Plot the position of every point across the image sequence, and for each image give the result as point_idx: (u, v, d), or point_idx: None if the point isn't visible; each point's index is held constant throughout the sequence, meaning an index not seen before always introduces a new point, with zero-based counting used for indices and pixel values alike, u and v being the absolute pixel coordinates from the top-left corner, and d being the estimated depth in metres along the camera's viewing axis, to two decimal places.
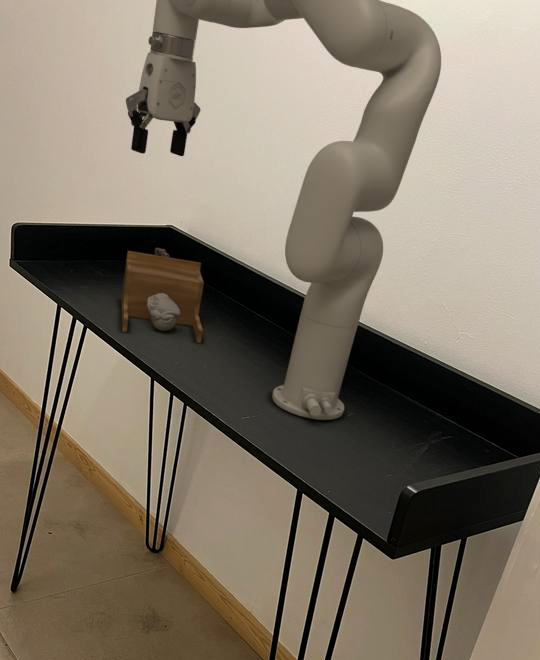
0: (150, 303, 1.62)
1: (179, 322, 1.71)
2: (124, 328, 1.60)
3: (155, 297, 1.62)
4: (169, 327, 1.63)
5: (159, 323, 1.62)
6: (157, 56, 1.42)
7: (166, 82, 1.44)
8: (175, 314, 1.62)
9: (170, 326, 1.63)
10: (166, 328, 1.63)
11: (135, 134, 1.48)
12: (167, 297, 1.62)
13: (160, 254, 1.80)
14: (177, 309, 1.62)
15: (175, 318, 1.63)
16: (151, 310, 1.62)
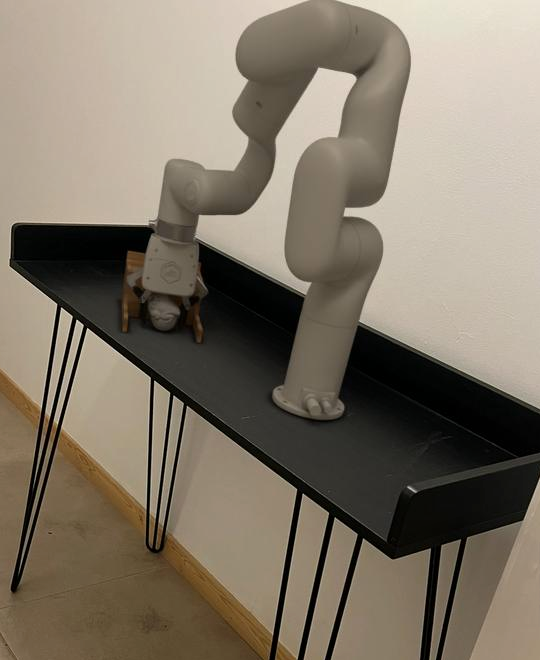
0: (150, 303, 1.62)
1: None
2: (124, 328, 1.60)
3: (155, 297, 1.62)
4: (169, 327, 1.63)
5: (159, 323, 1.62)
6: (151, 237, 1.55)
7: (156, 260, 1.56)
8: (175, 314, 1.62)
9: (170, 326, 1.63)
10: (166, 328, 1.63)
11: (140, 306, 1.63)
12: (167, 297, 1.62)
13: None
14: (177, 309, 1.62)
15: (175, 318, 1.63)
16: (151, 310, 1.62)
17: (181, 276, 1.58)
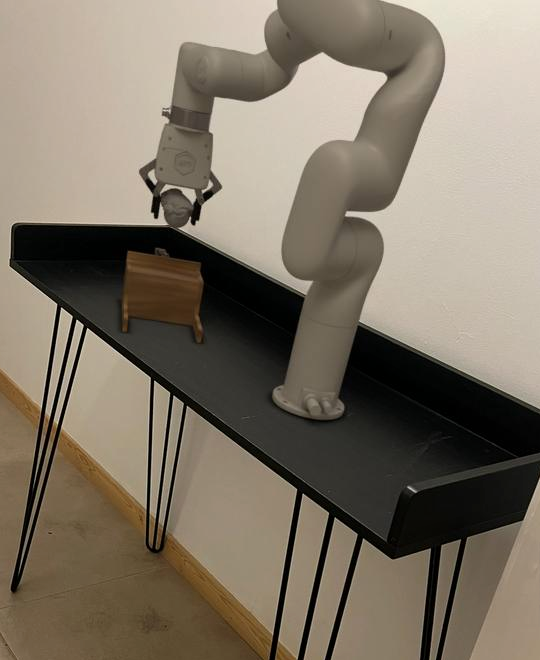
0: (163, 198, 1.59)
1: (179, 322, 1.71)
2: (124, 328, 1.60)
3: (168, 191, 1.58)
4: (182, 223, 1.60)
5: (172, 218, 1.59)
6: (164, 125, 1.52)
7: (170, 149, 1.52)
8: (189, 209, 1.58)
9: (183, 222, 1.60)
10: (179, 224, 1.60)
11: (152, 201, 1.59)
12: (180, 192, 1.59)
13: (160, 254, 1.80)
14: (190, 204, 1.59)
15: (188, 214, 1.60)
16: (164, 204, 1.58)
17: (195, 167, 1.55)
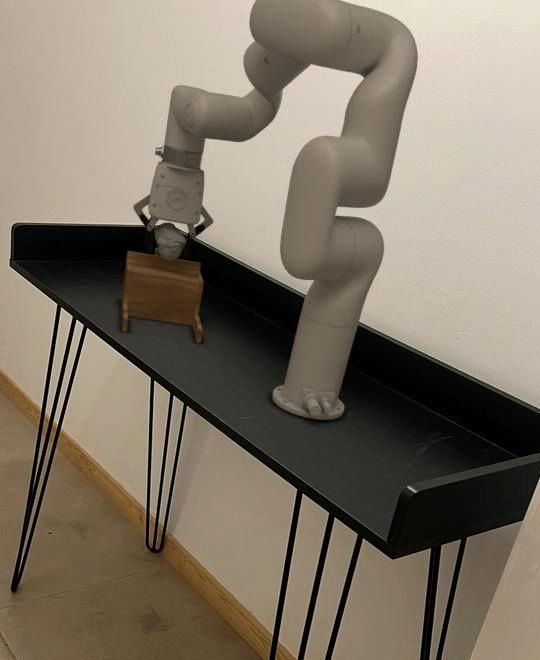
0: (157, 232, 1.65)
1: (179, 322, 1.71)
2: (124, 328, 1.60)
3: (161, 225, 1.65)
4: (175, 256, 1.67)
5: (165, 251, 1.66)
6: (158, 164, 1.58)
7: (163, 187, 1.59)
8: (181, 242, 1.65)
9: (176, 255, 1.66)
10: (172, 257, 1.67)
11: (146, 235, 1.66)
12: (173, 226, 1.65)
13: None
14: (183, 238, 1.65)
15: (181, 247, 1.67)
16: (158, 238, 1.65)
17: (187, 203, 1.61)
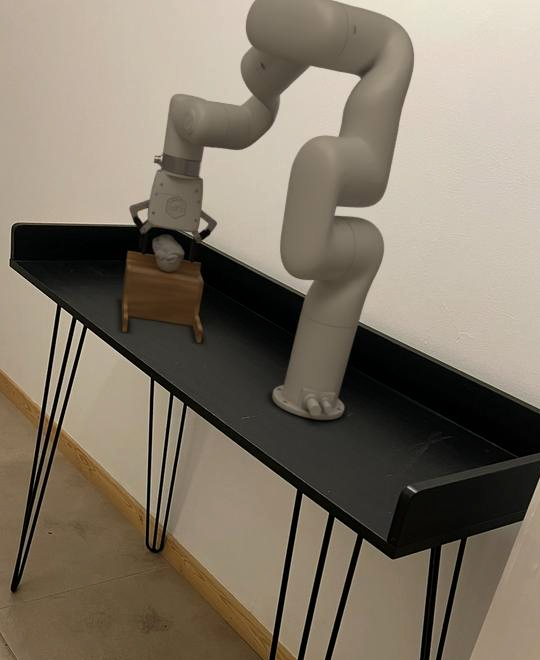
0: (155, 244, 1.66)
1: (179, 322, 1.71)
2: (124, 328, 1.60)
3: (160, 238, 1.66)
4: (173, 268, 1.68)
5: (163, 263, 1.67)
6: (156, 172, 1.59)
7: (162, 195, 1.60)
8: (179, 254, 1.66)
9: (174, 267, 1.68)
10: (170, 268, 1.68)
11: None
12: (171, 238, 1.66)
13: None
14: (181, 250, 1.67)
15: (179, 259, 1.68)
16: (156, 250, 1.66)
17: (186, 211, 1.62)
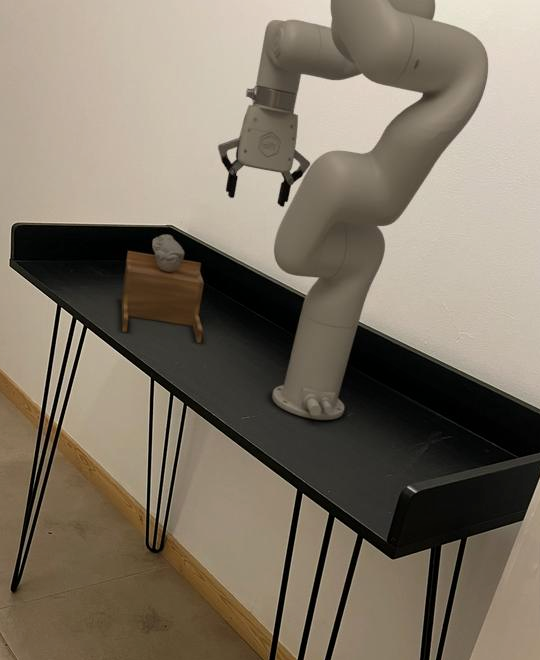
0: (155, 244, 1.66)
1: (179, 322, 1.71)
2: (124, 328, 1.60)
3: (160, 238, 1.66)
4: (173, 268, 1.68)
5: (163, 263, 1.67)
6: (249, 106, 1.48)
7: (255, 131, 1.49)
8: (179, 254, 1.66)
9: (174, 267, 1.68)
10: (170, 268, 1.68)
11: (228, 180, 1.55)
12: (171, 238, 1.66)
13: None
14: (181, 250, 1.67)
15: (179, 259, 1.68)
16: (156, 250, 1.66)
17: (280, 149, 1.51)
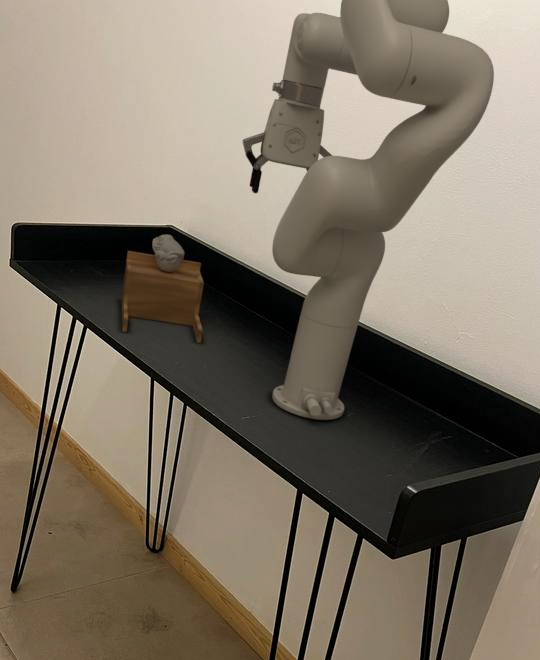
0: (155, 244, 1.66)
1: (179, 322, 1.71)
2: (124, 328, 1.60)
3: (160, 238, 1.66)
4: (173, 268, 1.68)
5: (163, 263, 1.67)
6: (275, 101, 1.47)
7: (281, 126, 1.47)
8: (179, 254, 1.66)
9: (174, 267, 1.68)
10: (170, 268, 1.68)
11: (252, 175, 1.54)
12: (171, 238, 1.66)
13: None
14: (181, 250, 1.67)
15: (179, 259, 1.68)
16: (156, 250, 1.66)
17: (305, 144, 1.49)
